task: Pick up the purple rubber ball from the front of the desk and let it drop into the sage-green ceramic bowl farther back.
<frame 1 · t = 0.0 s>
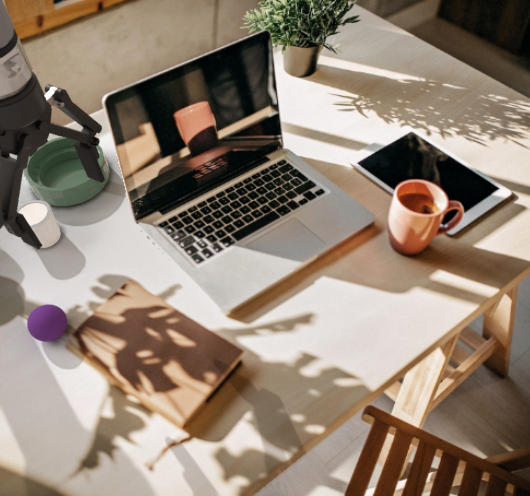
hand: (66, 209, 70), 21 cm above the table, tool pointing down, fingers open, 13 cm apart
ball: (47, 322, 80), point 3 cm above the table
white cylinder: (46, 237, 95), on the table
bowl: (72, 179, 103), on the table
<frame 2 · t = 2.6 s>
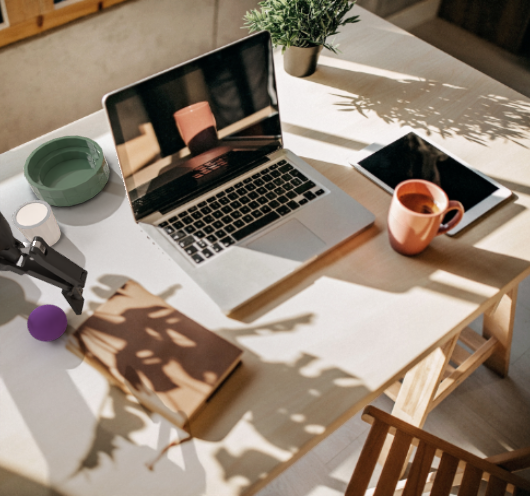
hand: (36, 308, 76), 8 cm above the table, tool pointing down, fingers open, 13 cm apart
nothing on the table moved.
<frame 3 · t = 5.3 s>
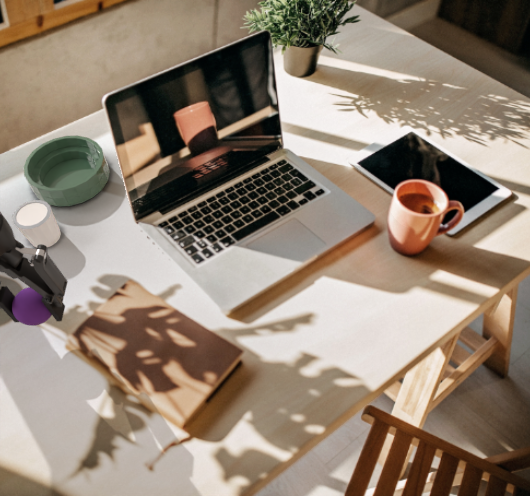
hand: (40, 313, 78), 6 cm above the table, tool pointing down, fingers closed on ball, 6 cm apart
ball: (33, 305, 76), point 8 cm above the table, touching gripper
everything else where it was.
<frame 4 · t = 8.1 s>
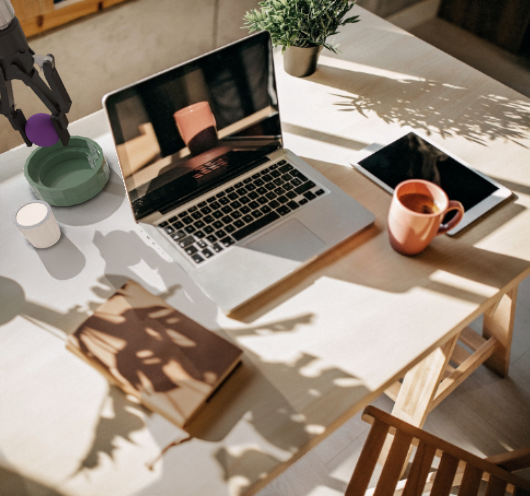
hand: (49, 141, 91), 13 cm above the table, tool pointing down, fingers closed on ball, 6 cm apart
ball: (43, 130, 89), point 16 cm above the table, touching gripper
everything else where it was.
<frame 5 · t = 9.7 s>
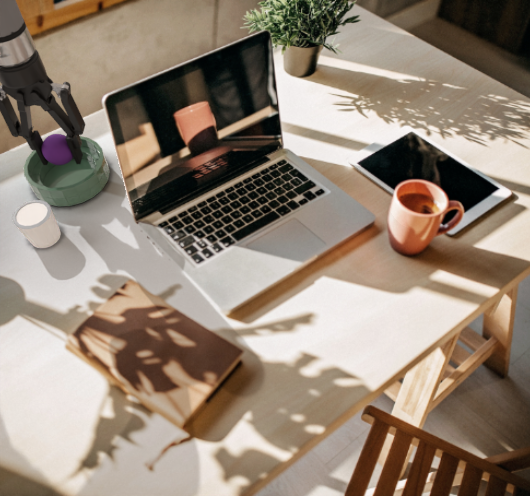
hand: (63, 159, 99), 6 cm above the table, tool pointing down, fingers closed on ball, 6 cm apart
ball: (58, 149, 96), point 8 cm above the table, touching gripper
everything else where it was.
when the fingers open (3 cm above the table, at t = 11.3 s): ball stays where it is, resting on bowl.
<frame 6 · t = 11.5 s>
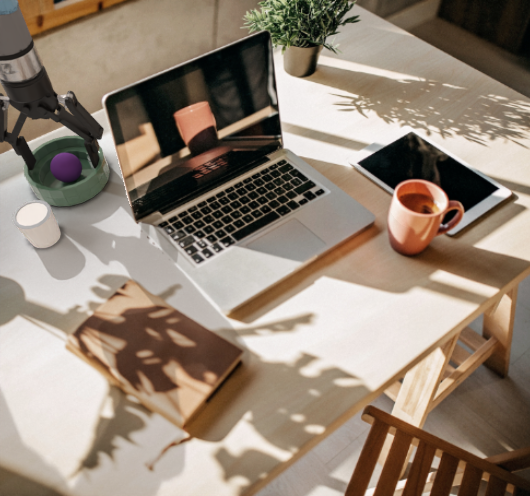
hand: (64, 164, 100), 4 cm above the table, tool pointing down, fingers open, 12 cm apart
ball: (66, 167, 100), point 4 cm above the table, touching bowl
everything else where it was.
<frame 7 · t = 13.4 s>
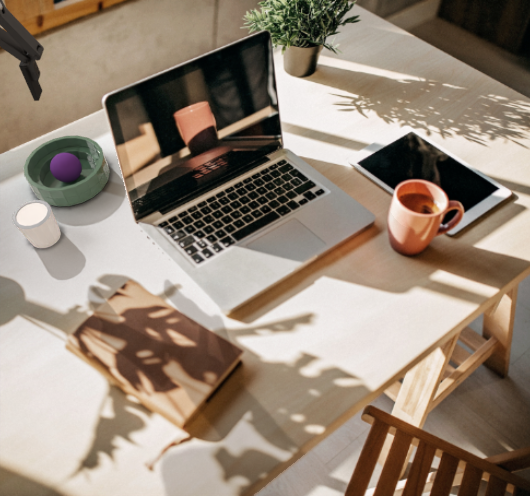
nothing on the table moved.
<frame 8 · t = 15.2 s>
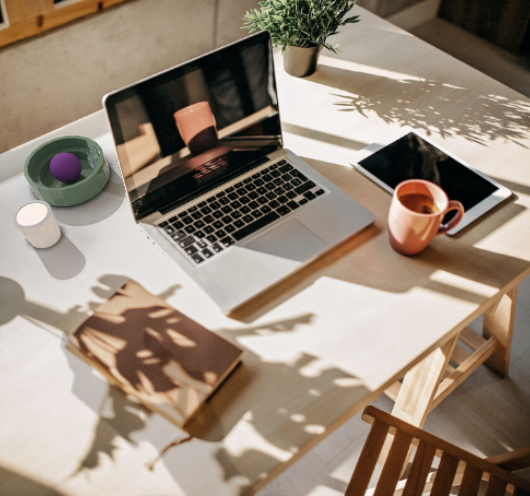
nothing on the table moved.
at the end: ball inside the target area in the bowl (0.1 cm from its centre), point 3.6 cm above the bowl's base; the gripper is holding nothing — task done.
